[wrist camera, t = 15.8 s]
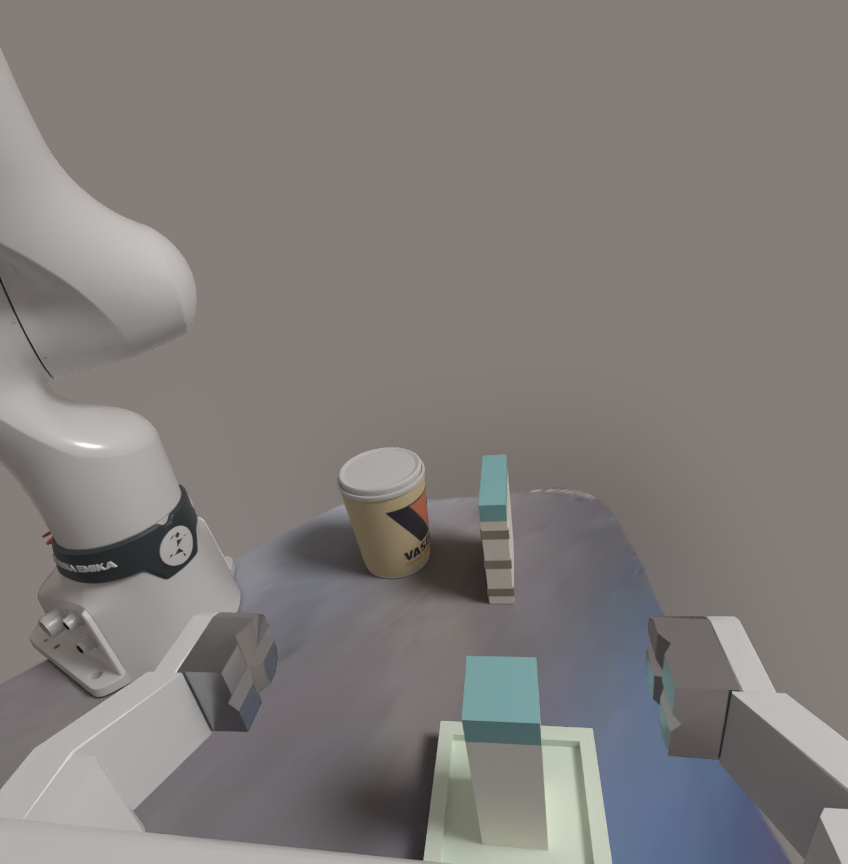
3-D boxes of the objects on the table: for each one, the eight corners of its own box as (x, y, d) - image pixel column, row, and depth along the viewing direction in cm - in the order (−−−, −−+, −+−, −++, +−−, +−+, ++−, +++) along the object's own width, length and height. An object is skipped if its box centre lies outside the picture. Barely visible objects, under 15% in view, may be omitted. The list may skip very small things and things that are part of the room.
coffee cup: (419, 591, 55) (401, 495, 49) (343, 577, 58) (318, 486, 53) (448, 536, 62) (435, 448, 57) (379, 526, 66) (361, 443, 61)
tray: (422, 918, 30) (418, 902, 30) (444, 736, 40) (440, 720, 39) (620, 943, 28) (621, 927, 28) (592, 744, 38) (592, 728, 37)
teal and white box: (488, 603, 52) (477, 505, 46) (491, 545, 60) (482, 455, 54) (515, 603, 51) (506, 504, 46) (514, 544, 59) (507, 454, 54)
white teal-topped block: (482, 844, 32) (461, 720, 27) (485, 777, 36) (466, 655, 31) (548, 850, 32) (540, 723, 26) (544, 781, 35) (536, 657, 30)
